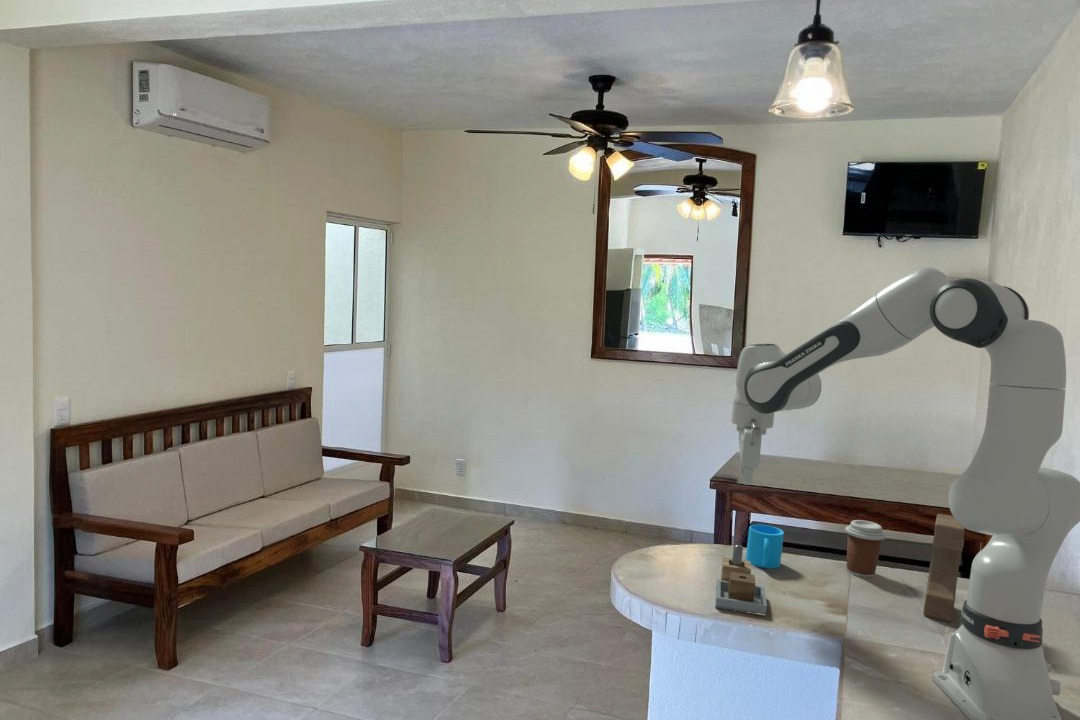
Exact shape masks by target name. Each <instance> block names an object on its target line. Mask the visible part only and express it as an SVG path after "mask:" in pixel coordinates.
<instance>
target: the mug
mask: <svg viewBox="0 0 1080 720" xmlns="http://www.w3.org/2000/svg"><path fill="white" fill-rule="evenodd" d="M784 535H785V532H784V530H783V529H781V528H778V527H776V526H771V525H767V524H752V525H750V526H749V527H748V536H747V545H746V552H745V553H746V554H745V560H746V561H750V563H751V565H752V566H755V567H758V568H763V569H764V568H765V569H777V567H778V568H780V567H781V562H782V553H783V545H784V544H783V543H784Z"/></svg>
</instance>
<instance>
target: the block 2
mask: <svg viewBox="0 0 1080 720" xmlns="http://www.w3.org/2000/svg"><path fill="white" fill-rule="evenodd" d="M755 575H756V574H752V573H751V574H744V573H738V572H730V581H729V590H728V598H729V599H735V600H742V601H748V602H753V601H754V592H755V586H756V576H755Z"/></svg>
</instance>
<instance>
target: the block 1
mask: <svg viewBox="0 0 1080 720" xmlns="http://www.w3.org/2000/svg"><path fill="white" fill-rule="evenodd" d="M732 558H733V557H732ZM732 558H730V557H725V556H723V557H722V563H721V575H720V580H723V581H730V572H738V573H744V574H751V575H752V566H751V565H752V564H751V563H750V561H746V559H744V560H743V559H742V562H741V566H734V565H732Z"/></svg>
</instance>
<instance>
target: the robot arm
mask: <svg viewBox="0 0 1080 720" xmlns="http://www.w3.org/2000/svg"><path fill="white" fill-rule="evenodd" d="M1029 311H1030V310H1029V306H1028V304H1027V302H1026V300H1025V298H1024V297H1023V296H1022V295H1021V294H1020V293H1019V292H1018V291H1016V290H1015V289H1013V288H1012V287H1009V286H1005V285H1001V284H999V283H997V282H994V281H991V280H986V279H985V280H984V279H975V278H967V277H965V278H959V279H958V278H957V279H955V280H952V281H951V279H950V278H949V277H948V276H947V275H946V274H945V273H943V272H942V271H940V270H938V269H936V268H934V267H929V266H925V267H921V268H918V269H916V270H913V271H911V272H909V273H907V274H905V275H903V276H901V277H899V278H898V279H895V280H894V281H892V282H891V283H889V284H888V285H886V286H885V287H883V288H882V289H880V290H878V291H877V292H876V293H875V294H873V295H872V296H870V297H869V298H868V299H866V300H865V301H864V302H862V303H861V304H860V305H858V306H857V307H856V308H854V309H853V310H852V311H851V312H849V313H848V314H847V315H845V316H843V317H842V318H840V319H839V320H838V321H836V322H835V323H834V324H832V325H831V326H829V327H828V328H826V329H825V330H823V331H822V332H820V333H818V334H816V335H815V336H814V337H812V338H810V339H808V340H806V341H805V342H804V343H802V344H801V345H799V346H798V347H796V348H795V349H793V350H792V351H790V352H788V353H787V354H786V353H785V352H784V351H783V350H782V349H781V348H780V346H779V345H778V344H774V343H754V344H749V345H746V346H744V347H743V348H742V350H741V352H740V354H739V358H738V361H737V362H738V364H737V370H736V376H735V377H736V378H735V386H736V393H735V395H734V398H733V403H732V404H733V405H732V415H731V421H730V422H731V423H732V424H734V425H736V431H737V432H738V445H739V448H738V449H739V456H740V465H741V474H742V484H743V485H745V486H746V485H747V486H750V485H751V484H752V481H753V480H752V478H753V474H754V470H755V469H756V468H759V465H760V460H761V459H760V457H761V448H762V439H763V438H762V436H763V435H766V434H767V429H772V428H773V427H774V420H775V413H777V412H781V411H782V412H784V411H792V410H800V409H806V408H809V407H812V406H813V405H814V404H815V403H816V402H817V401H818V400H819V397H821V396H820V395H821V392H822V380H821V377H820V375H819V374H820V373H821V372H824V371H825V370H826V369H829V368H830V367H832V366H835V365H836V364H839V363H843V362H846V361H850V360H852V361H853V360H857V359H864V358H865V359H866V358H871V357H880V356H884V355H886V354H888V353H891V352H894V351H896V350H898V349H901V348H902V347H904V346H906V345H908V344H909V343H911V342H912V341H913V340H915V339H917V338H918V337H919V336H921V335H923V334H924V333H926V332H927V331H929V330H931V329H933V328H934V327H935V328H936V329H937V330H938V331H939V332H941V334H943V335H944V336H946V337H948V338H950V339H951V340H954V341H956V342H960V343H963V344H966V345H969V346H971V347H975V348H977V349H983V348H984V349H985V350H986V351H987V353H988V356H989V358H990V375H989V386H988V387H989V389H988V397H987V408H986V409H987V410H986V418H985V426H984V431H983V434H982V437H981V441H980V443H979V445H978V447H977V451H976V453H975V454H974V456H973V458H972V460H971V462H970V464H969V465H968V467H967V468H966V469H965V471H964V472H963V473H962V474H961V475H960V476H958V477H957V478H956V479H955V480H954V481H953V482H952V484H951V485H950V488H949V491H948V506H949V510H950V512H951V516H953V517H954V518H955V520H956V521H957V522H958V523H959V524H960V525H961V526H962V527H964V528H965V529H966V530H969V531H972V532H976V533H979V534H985V535H989V536H991V538H990V539H989V540H988V543H986V545H985V546H984V547H983V548H982V549H981V550H980V551H978V553H977V554H976V555H975V557H973V559H972V562H971V568H970V575H969V584H968V589H967V596H966V597H967V598H966V600H964V602H963V606H962V608H961V611H960V613H961V618H960V623H961V625H960V626H959V627H958V629H957V630H955V631H954V632H952V633H951V634H950V635H949V638H948V642H947V646H946V650H945V657H944V660H943V661H944V662H943V666H942V670H936V671H934V672H933V674H932V677H931V679H932V680H933V681H934V682H935V684H936V685H938V686H939V688H940V689H941V690H942V691H943V692H944V693H945V694H946V695H947V697H949V699H950V700H951V701H952V702H953V703H954V705H956V707H958V708H959V709H960V711H962V713H963V714H964V715H965V716H966V717H967V718H968V719H969V720H1062V717H1061V715H1060V712H1059V709H1058V707H1057V704H1056V701H1055V699H1054V696H1060V693H1061V682H1060V681H1059V680H1056V679H1052V678H1050V673H1051V672H1052V664H1051V663H1047V661H1046V659H1045V658H1046V657H1045V653H1044V648H1043V647H1042V646H1043V635H1044V629H1043V628H1044V627H1043V620H1042V618H1041V615H1042V607H1043V601H1044V596H1045V589H1046V585H1047V580H1048V576H1049V572H1050V571H1051V568H1052V565H1053V563H1054V561H1055V558H1056V557H1057V555H1058V553H1059V551H1060V549H1061V546H1062V545H1063V543H1064V541H1065V540H1066V537H1067V536H1068V534H1069V533H1070V532H1071V531H1072V530H1073V528H1074V527H1075V526H1076V525H1078V524H1079V523H1080V480H1078V479H1077V478H1076V477H1075V476H1073V475H1071V474H1069V473H1066V472H1063V471H1060V470H1057V469H1052V468H1047V467H1041V465H1042V463H1043V461H1044V459H1045V457H1046V456H1047V453H1048V452H1049V450H1050V449H1051V448H1052V447H1053V446H1054V445H1055V444H1057V442H1058V441H1059V440H1060V438H1061V437H1062V433H1063V427H1064V414H1065V402H1066V389H1067V388H1066V387H1067V364H1066V363H1067V361H1066V351H1065V350H1066V349H1065V345H1064V337H1063V336H1062V333H1061V332H1060V330H1059V329H1058V328H1056V327H1055V326H1054V325H1052V324H1050V323H1046V322H1043V321H1041V320H1035V319H1034V320H1033V319H1029V318H1030V312H1029Z"/></svg>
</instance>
